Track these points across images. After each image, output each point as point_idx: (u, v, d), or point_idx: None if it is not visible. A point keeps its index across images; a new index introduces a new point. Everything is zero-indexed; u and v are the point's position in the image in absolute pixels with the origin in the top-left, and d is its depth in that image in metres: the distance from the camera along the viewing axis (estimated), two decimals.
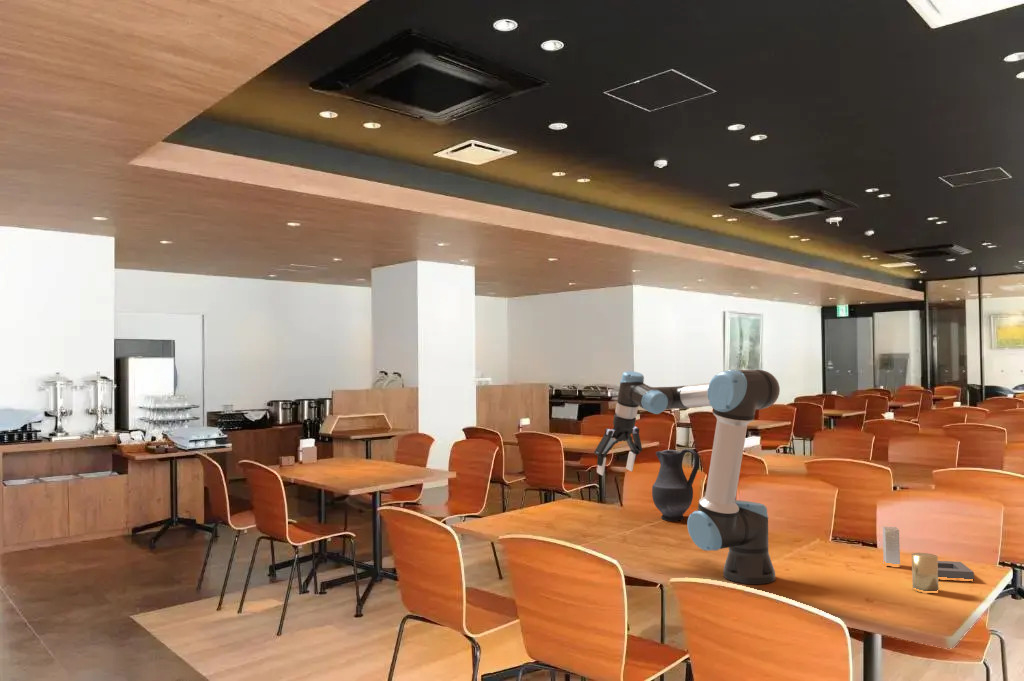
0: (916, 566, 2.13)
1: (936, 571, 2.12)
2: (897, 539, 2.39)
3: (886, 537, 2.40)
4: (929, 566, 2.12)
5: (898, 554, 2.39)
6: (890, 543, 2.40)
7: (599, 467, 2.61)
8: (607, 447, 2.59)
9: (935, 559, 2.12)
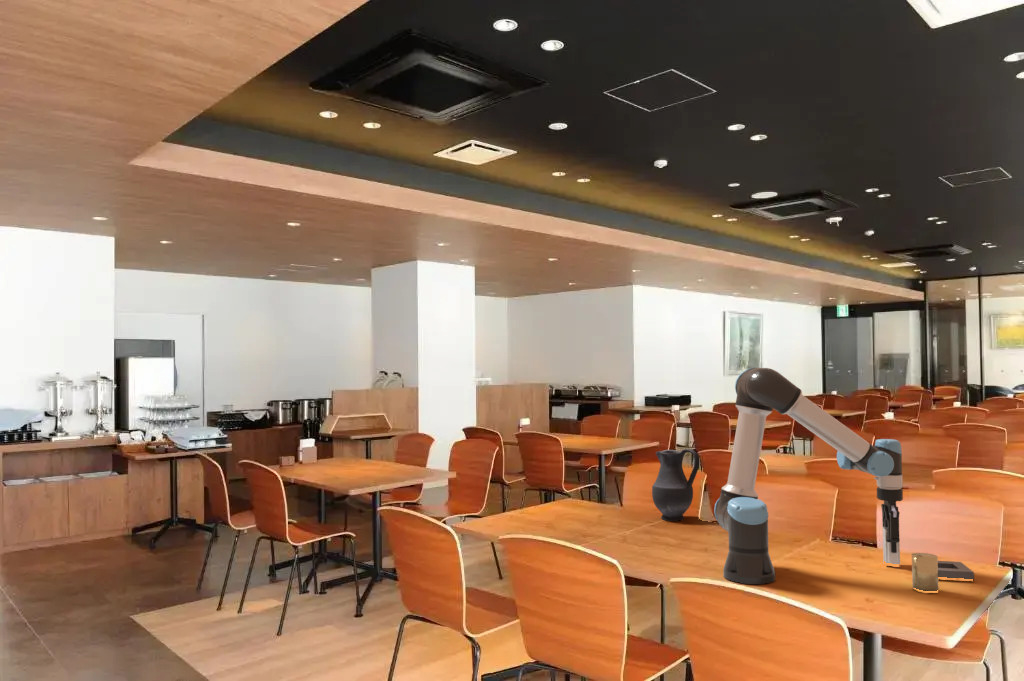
0: (916, 566, 2.13)
1: (936, 571, 2.12)
2: None
3: (886, 537, 2.40)
4: (929, 566, 2.12)
5: (898, 554, 2.39)
6: None
7: (892, 555, 2.39)
8: None
9: (935, 559, 2.12)
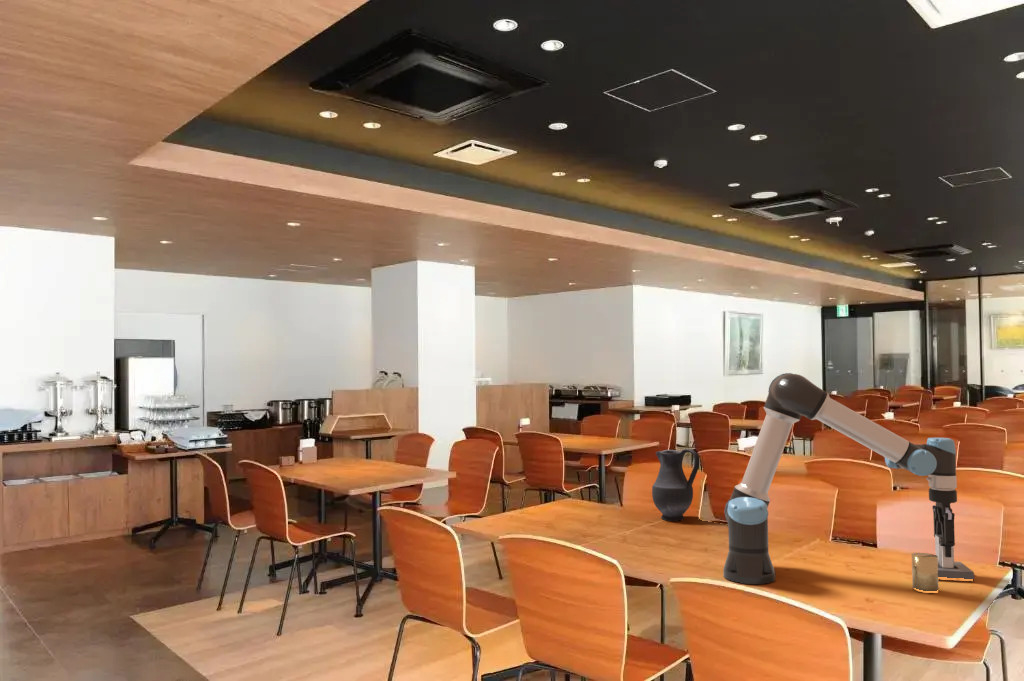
0: (916, 566, 2.13)
1: (936, 571, 2.12)
2: None
3: (940, 546, 2.28)
4: (929, 566, 2.12)
5: None
6: None
7: (946, 560, 2.27)
8: None
9: (935, 559, 2.12)
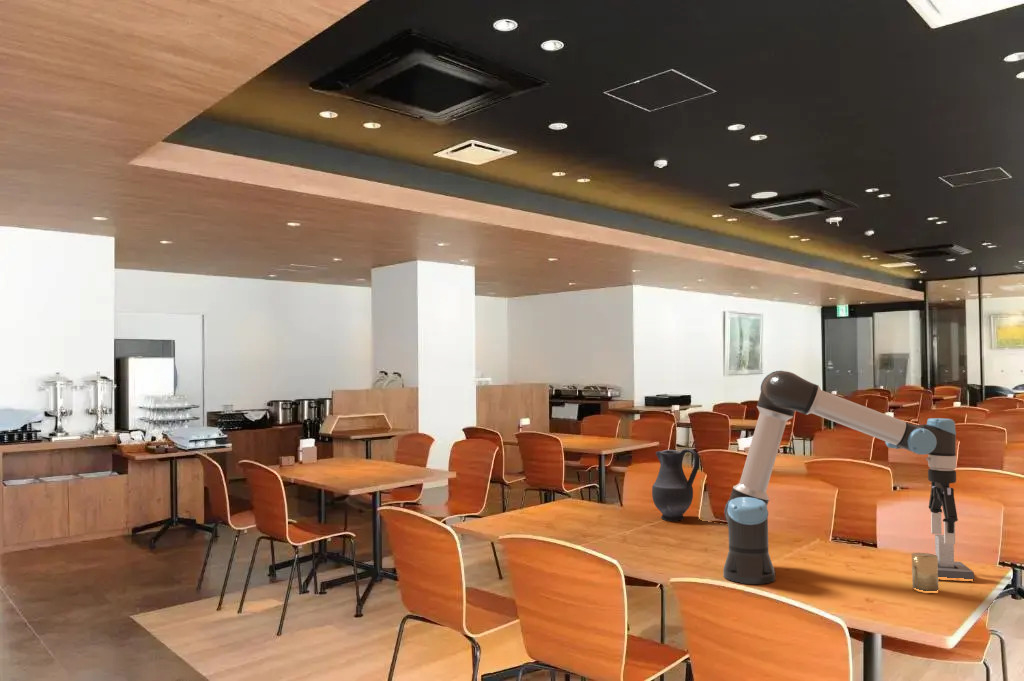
0: (916, 566, 2.13)
1: (936, 571, 2.12)
2: (951, 548, 2.27)
3: (939, 545, 2.28)
4: (929, 566, 2.12)
5: (952, 563, 2.27)
6: (943, 551, 2.28)
7: (948, 536, 2.23)
8: None
9: (935, 559, 2.12)
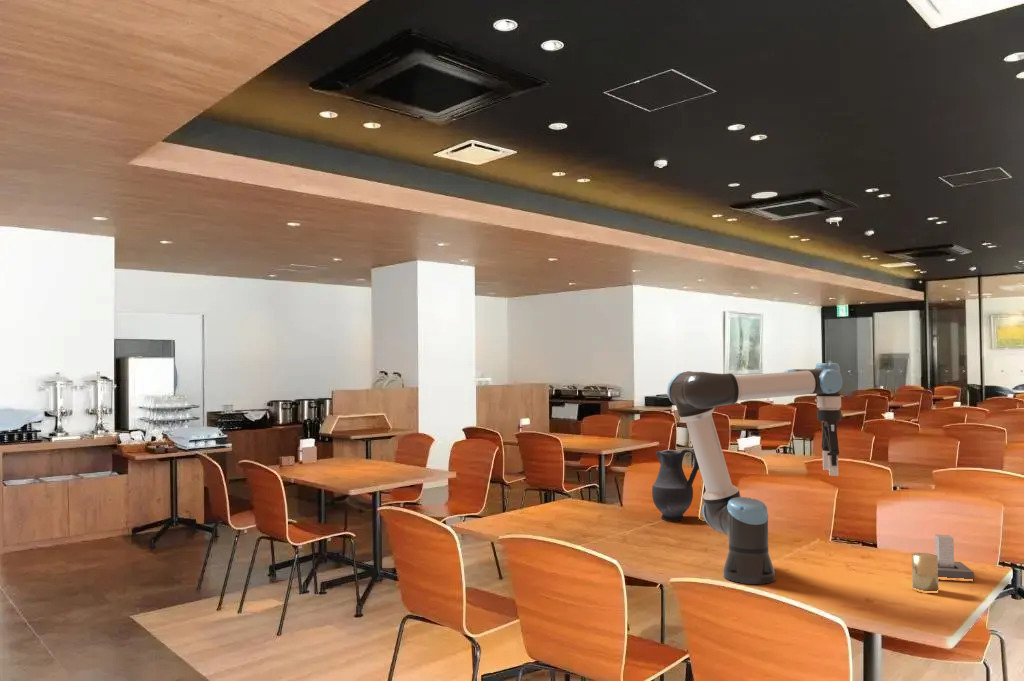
0: (916, 566, 2.13)
1: (936, 571, 2.12)
2: (951, 548, 2.27)
3: (939, 546, 2.28)
4: (929, 566, 2.12)
5: (952, 563, 2.27)
6: (943, 551, 2.28)
7: (832, 468, 2.44)
8: None
9: (935, 559, 2.12)
